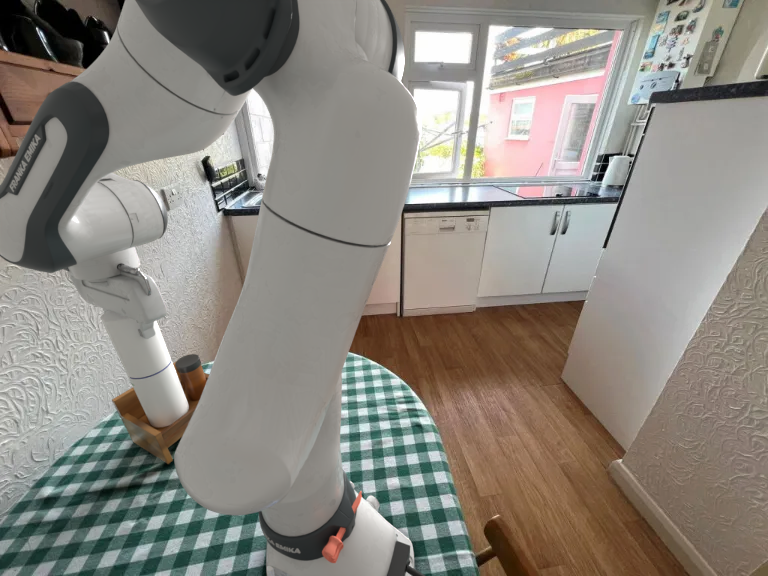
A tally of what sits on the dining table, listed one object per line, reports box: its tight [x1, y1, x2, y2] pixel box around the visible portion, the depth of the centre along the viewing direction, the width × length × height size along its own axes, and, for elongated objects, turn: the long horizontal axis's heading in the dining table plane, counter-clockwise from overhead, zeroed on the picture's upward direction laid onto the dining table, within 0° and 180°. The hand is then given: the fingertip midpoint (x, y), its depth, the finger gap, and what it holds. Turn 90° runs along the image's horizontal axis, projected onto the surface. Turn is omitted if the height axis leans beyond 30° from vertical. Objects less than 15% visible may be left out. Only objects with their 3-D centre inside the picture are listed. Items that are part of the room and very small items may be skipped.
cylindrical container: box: [100, 310, 189, 427], centre depth 61 cm, size 7×7×25 cm
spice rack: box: [111, 353, 210, 465], centre depth 67 cm, size 12×16×15 cm
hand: (135, 331), depth 57 cm, fingers closed on cylindrical container, 7 cm apart
